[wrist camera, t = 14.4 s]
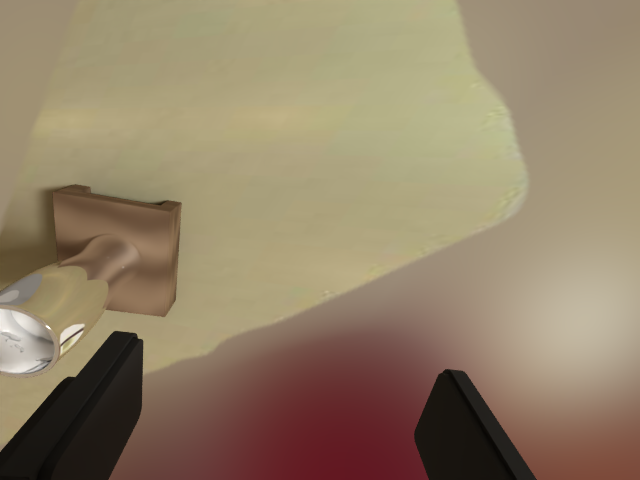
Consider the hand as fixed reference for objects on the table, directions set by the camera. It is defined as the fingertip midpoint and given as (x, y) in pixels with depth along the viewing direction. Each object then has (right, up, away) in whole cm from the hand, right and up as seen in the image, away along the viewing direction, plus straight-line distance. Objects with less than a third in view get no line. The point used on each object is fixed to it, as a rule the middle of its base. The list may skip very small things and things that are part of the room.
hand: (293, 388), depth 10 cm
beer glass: (-23, +3, +28) cm, 36 cm away
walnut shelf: (-23, +4, +31) cm, 39 cm away
